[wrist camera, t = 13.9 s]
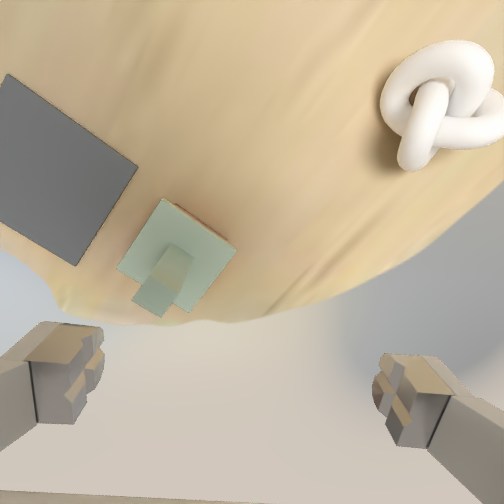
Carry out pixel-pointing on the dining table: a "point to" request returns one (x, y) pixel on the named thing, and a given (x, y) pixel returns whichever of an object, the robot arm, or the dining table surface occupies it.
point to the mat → (54, 174)
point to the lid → (174, 260)
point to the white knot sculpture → (443, 102)
